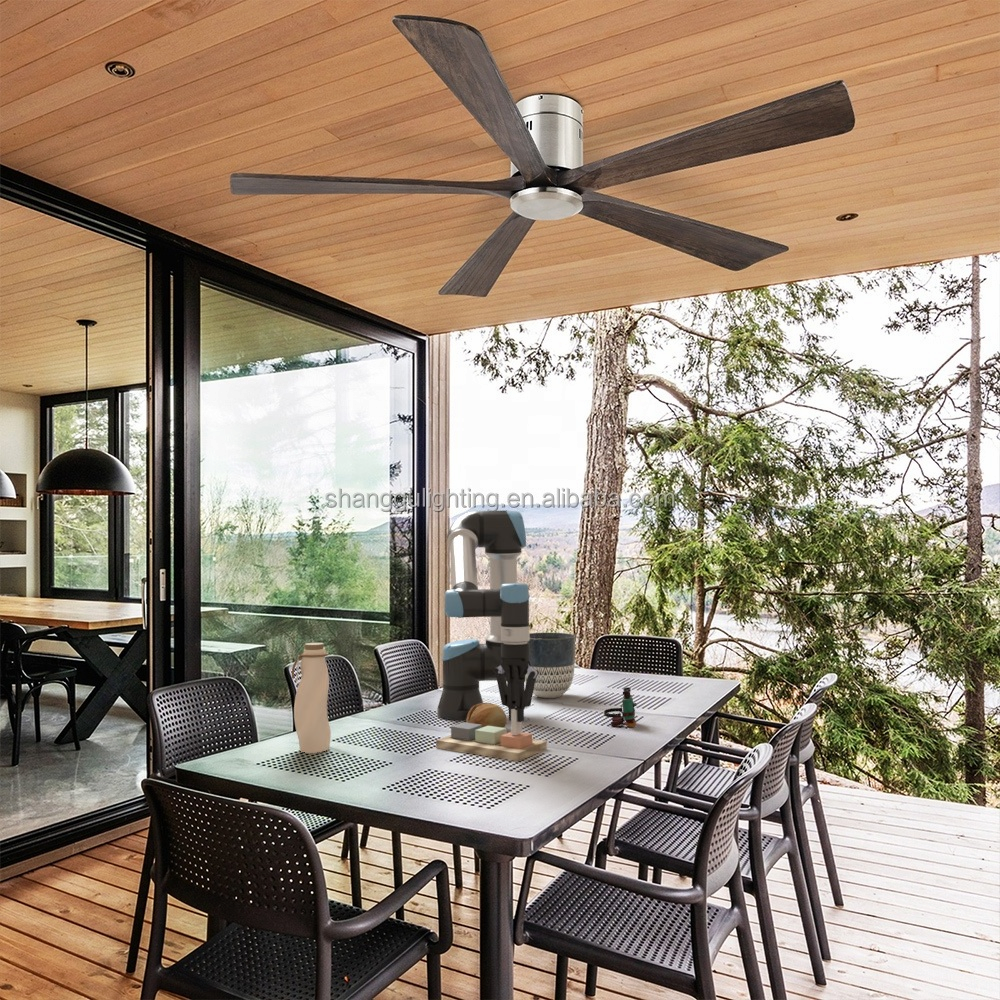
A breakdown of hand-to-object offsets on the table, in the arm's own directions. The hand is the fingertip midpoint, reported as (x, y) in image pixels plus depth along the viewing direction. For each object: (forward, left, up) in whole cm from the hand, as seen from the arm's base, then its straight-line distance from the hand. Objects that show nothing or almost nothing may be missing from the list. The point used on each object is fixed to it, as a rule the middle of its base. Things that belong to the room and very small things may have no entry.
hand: (516, 733), depth 207 cm
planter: (-30, +68, -5) cm, 74 cm away
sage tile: (-8, 0, -3) cm, 9 cm away
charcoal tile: (-16, 0, -3) cm, 16 cm away
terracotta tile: (0, 0, -3) cm, 3 cm away
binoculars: (+10, +42, -5) cm, 44 cm away
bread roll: (-20, +15, -5) cm, 26 cm away
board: (-8, 0, -5) cm, 9 cm away
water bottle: (-48, -26, -5) cm, 55 cm away
